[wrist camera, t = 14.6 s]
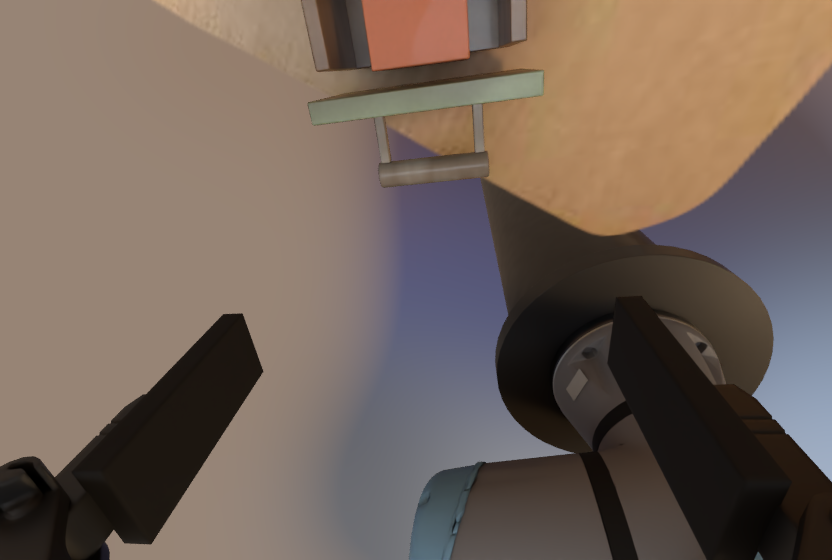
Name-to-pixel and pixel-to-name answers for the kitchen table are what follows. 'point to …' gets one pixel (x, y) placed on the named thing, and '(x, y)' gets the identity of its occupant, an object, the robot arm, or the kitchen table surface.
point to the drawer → (348, 50)
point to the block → (415, 32)
